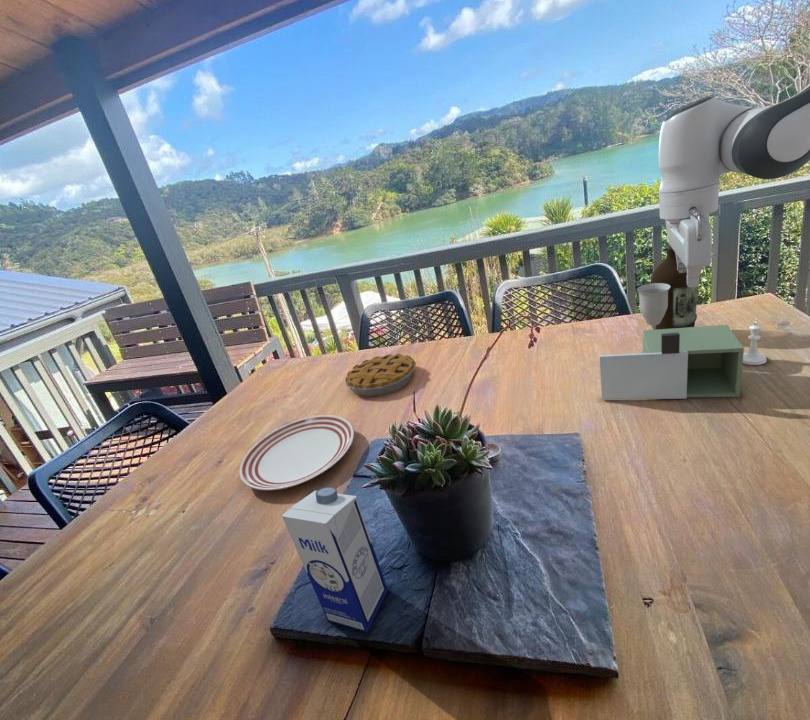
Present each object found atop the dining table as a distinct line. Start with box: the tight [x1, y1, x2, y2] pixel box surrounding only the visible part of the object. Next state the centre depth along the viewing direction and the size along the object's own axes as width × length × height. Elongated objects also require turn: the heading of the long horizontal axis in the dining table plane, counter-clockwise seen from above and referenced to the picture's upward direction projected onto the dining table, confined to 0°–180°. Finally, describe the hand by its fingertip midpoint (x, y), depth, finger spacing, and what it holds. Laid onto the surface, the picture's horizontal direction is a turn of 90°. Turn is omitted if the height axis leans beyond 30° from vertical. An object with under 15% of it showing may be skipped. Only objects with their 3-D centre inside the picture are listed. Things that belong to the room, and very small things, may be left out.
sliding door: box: [598, 333, 688, 401], centre depth 91 cm, size 1×16×15 cm, turn 69°
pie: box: [344, 353, 417, 397], centre depth 132 cm, size 22×22×5 cm
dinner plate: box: [239, 414, 355, 491], centre depth 103 cm, size 27×27×3 cm
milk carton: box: [281, 486, 389, 633], centre depth 60 cm, size 7×7×20 cm
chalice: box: [636, 283, 670, 330], centre depth 105 cm, size 7×7×18 cm
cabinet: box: [642, 324, 745, 398], centre depth 93 cm, size 12×16×11 cm
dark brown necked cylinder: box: [649, 241, 699, 330], centre depth 112 cm, size 11×11×25 cm
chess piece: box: [743, 318, 768, 366], centre depth 96 cm, size 5×5×10 cm
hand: (687, 278), depth 83 cm, fingers open, 8 cm apart
